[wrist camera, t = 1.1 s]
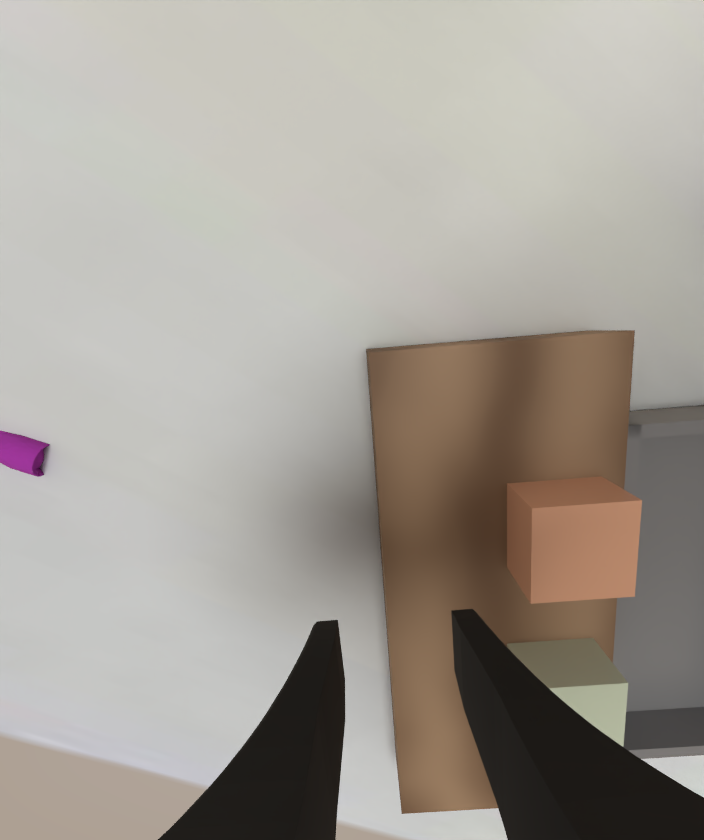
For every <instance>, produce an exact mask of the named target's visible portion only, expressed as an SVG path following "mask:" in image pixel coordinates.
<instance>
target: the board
mask: <svg viewBox="0 0 704 840" xmlns="http://www.w3.org/2000/svg"><path fill="white" fill-rule="evenodd" d="M634 332H635V331H579V332H567V333H555V334H543V335H531V336H519V337H507V338H495V339H483V340H471V341H459V342H447V343H435V344H423V345H411V346H399V347H386V348H374V349H366V353H367V367H368V381H369V394H370V408H371V421H372V435H373V449H374V462H375V476H376V489H377V503H378V517H379V530H380V544H381V557H382V571H383V585H384V598H385V612H386V625H387V639H388V653H389V666H390V680H391V693H392V707H393V721H394V734H395V748H396V760H397V770H398V780H399V790H400V800H401V810H402V814H405V813H422V812H439V811H456V810H473V809H490V808H498V805H497V802H496V799H495V797H494V794H493V791H492V788H491V785H490V782H489V780H488V777H487V774H486V771H485V768H484V765H483V763H482V760H481V757H480V754H479V751H478V748H477V746H476V743H475V740H474V737H473V734H472V731H471V728H470V725H469V723H468V720H467V717H466V714H465V711H464V708H463V704H462V700H461V696H460V692H459V687H458V683H457V679H456V675H455V671H454V653H453V634H452V615H451V610H463V609H473V610H475V611H476V612H477V613H478V615H479V616H480V617H481V618H482V619H483V621H484V622H485V623H486V624H487V625H488V626H489V628H490V629H491V630H492V631H493V632H494V633H495V634H496V636H497V637H498V638H499V639H500V640H501V641H502V642H503V643H504V644H505V645H506V647H507V644H508V643H523V642H538V641H553V640H568V639H583V638H594V640H595V641H596V642H597V644H598V645H599V646H600V647H601V649H602V650H603V651H604V653H605V654H606V655H607V656H608V658H609V659H610V660H611V662H612V663H613V653H614V638H615V623H616V607H617V598H608V599H593V600H579V601H564V602H550V603H535V604H531V603H530V602H529V600H528V599H527V597H526V596H525V594H524V593H523V591H522V590H521V588H520V586H519V585H518V583H517V582H516V580H515V579H514V577H513V576H512V574H511V573H510V571H509V570H508V568H507V483H520V482H533V481H546V480H560V479H573V478H586V477H599V476H602V477H603V478H605V479H607V480H609V481H610V482H612V483H614V484H615V485H617V486H619V487H620V488H622V489H624V485H625V470H626V454H627V439H628V424H629V409H630V393H631V378H632V363H633V347H634Z"/></svg>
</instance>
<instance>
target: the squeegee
mask: <svg viewBox="0 0 704 840" xmlns="http://www.w3.org/2000/svg"><path fill="white" fill-rule="evenodd" d="M49 445H50V444H46V443H43V442H40V441H37V440H34V439H31V438H28V437H25V436H21V435H16V434H11V433H8V432H4V431H0V463H2V464H4V465H6V466H7V467H9V468H12V469H15V470H19V471H22V472H25V473H28V474H31V475H34V476H42V475H44V474H43V472H42V471H41V469H40V468H39V467H40V466H41V464H42V462H43V460H44V451H43V449H44V448H45V447H47V446H49Z"/></svg>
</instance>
